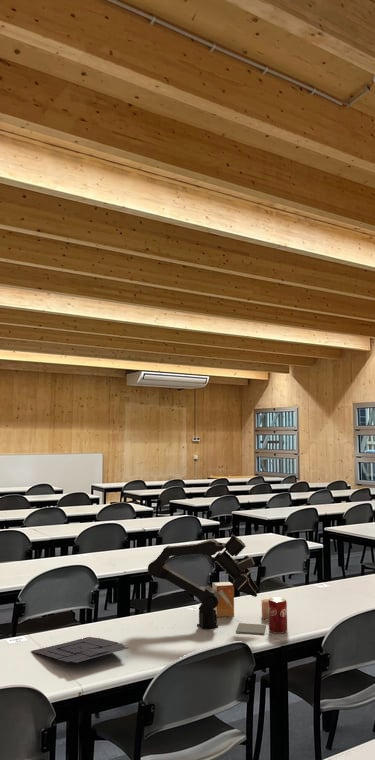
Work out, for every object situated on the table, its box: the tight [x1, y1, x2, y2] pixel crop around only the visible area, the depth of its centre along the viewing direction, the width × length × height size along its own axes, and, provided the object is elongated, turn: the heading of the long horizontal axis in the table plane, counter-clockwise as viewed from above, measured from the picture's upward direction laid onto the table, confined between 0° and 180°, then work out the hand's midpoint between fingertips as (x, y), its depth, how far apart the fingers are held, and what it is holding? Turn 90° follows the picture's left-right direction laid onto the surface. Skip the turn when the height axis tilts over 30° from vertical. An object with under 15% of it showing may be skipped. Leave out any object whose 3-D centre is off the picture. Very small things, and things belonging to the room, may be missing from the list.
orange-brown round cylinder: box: [261, 598, 270, 621], centre depth 237 cm, size 6×6×7 cm
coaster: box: [235, 622, 267, 636], centre depth 221 cm, size 11×11×1 cm
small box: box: [211, 581, 235, 618], centre depth 243 cm, size 8×6×13 cm
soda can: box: [268, 597, 288, 635], centre depth 220 cm, size 7×7×12 cm
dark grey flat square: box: [31, 636, 129, 664], centre depth 193 cm, size 24×30×4 cm
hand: (257, 593), depth 223 cm, fingers open, 9 cm apart
